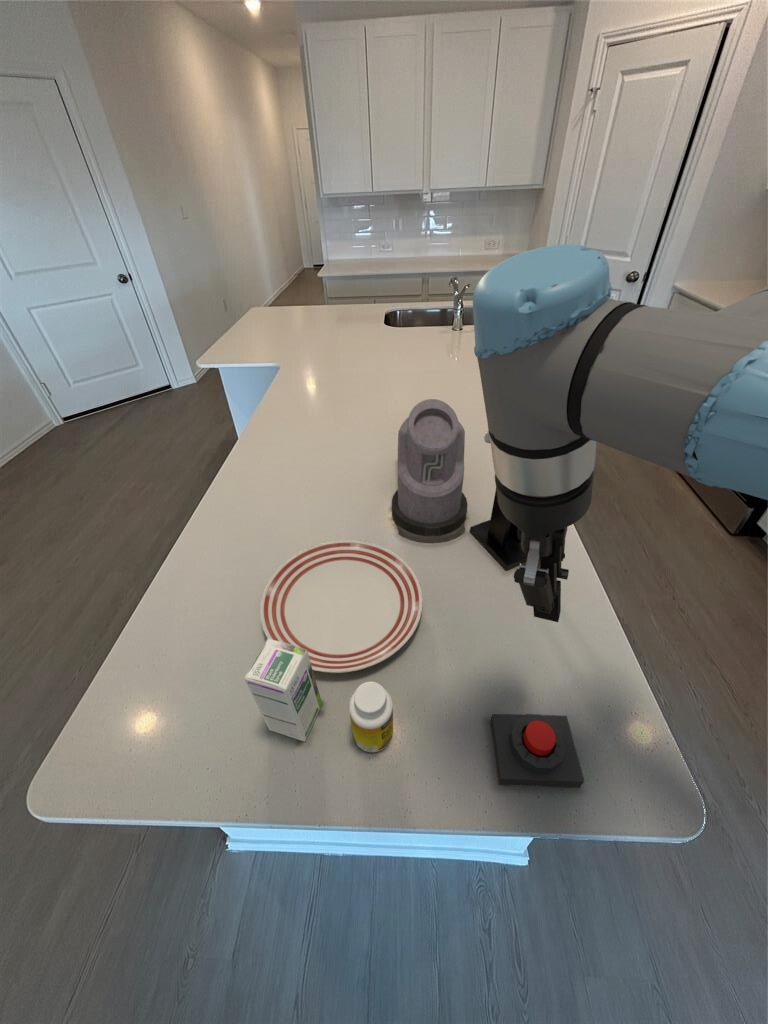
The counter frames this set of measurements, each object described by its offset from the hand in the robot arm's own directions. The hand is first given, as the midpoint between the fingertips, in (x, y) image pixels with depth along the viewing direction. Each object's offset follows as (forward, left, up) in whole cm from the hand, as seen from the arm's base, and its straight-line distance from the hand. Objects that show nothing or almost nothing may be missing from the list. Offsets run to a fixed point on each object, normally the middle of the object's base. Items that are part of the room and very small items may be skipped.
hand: (547, 613), depth 52 cm
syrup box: (+15, +29, -19) cm, 38 cm away
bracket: (+23, -20, -19) cm, 36 cm away
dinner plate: (+28, +13, -19) cm, 37 cm away
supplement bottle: (+7, +21, -19) cm, 29 cm away
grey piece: (+44, -17, -19) cm, 51 cm away
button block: (-7, +5, -19) cm, 21 cm away
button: (-7, +5, -16) cm, 17 cm away
